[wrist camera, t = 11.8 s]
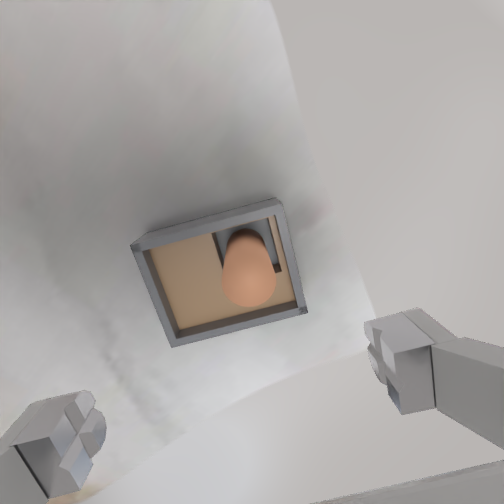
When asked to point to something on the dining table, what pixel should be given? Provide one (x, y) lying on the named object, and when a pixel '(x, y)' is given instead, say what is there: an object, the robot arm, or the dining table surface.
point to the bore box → (215, 273)
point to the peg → (247, 269)
